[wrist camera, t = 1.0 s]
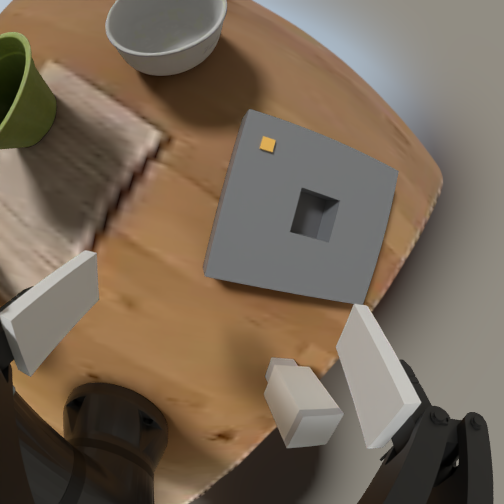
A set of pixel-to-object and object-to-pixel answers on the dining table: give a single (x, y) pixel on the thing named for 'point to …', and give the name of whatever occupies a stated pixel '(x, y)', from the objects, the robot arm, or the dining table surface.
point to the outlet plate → (299, 213)
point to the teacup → (165, 33)
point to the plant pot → (22, 95)
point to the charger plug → (300, 404)
